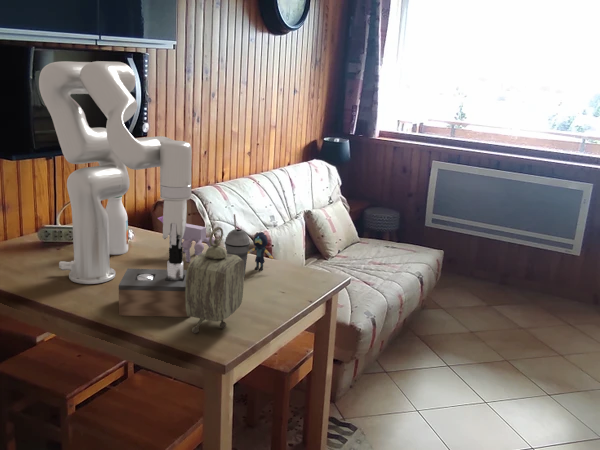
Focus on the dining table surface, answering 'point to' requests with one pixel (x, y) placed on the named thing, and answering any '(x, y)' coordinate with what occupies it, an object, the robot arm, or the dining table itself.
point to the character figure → (260, 250)
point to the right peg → (174, 271)
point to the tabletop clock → (214, 284)
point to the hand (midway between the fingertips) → (175, 262)
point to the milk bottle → (117, 226)
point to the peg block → (152, 294)
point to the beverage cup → (237, 243)
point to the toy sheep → (193, 234)
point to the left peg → (145, 277)
